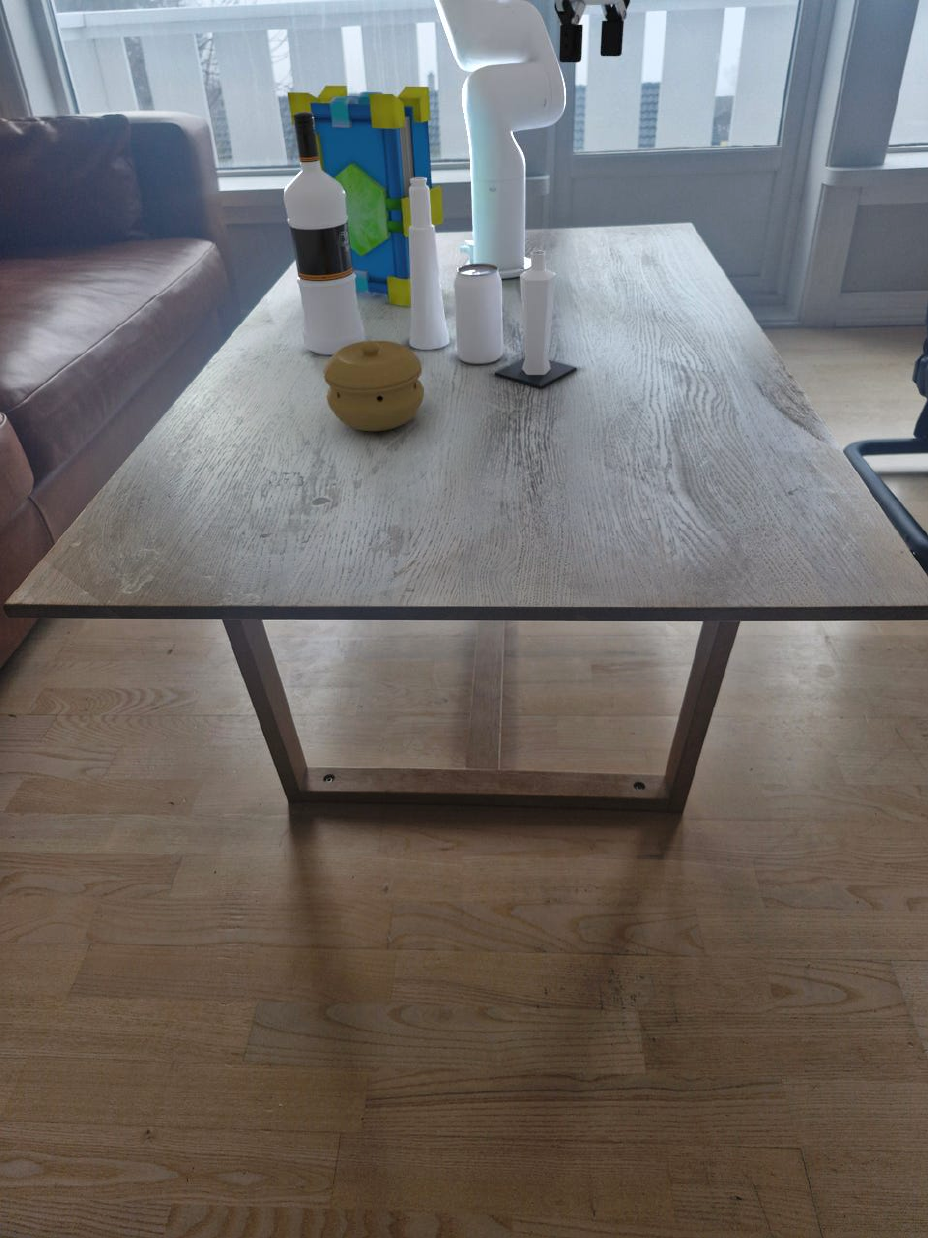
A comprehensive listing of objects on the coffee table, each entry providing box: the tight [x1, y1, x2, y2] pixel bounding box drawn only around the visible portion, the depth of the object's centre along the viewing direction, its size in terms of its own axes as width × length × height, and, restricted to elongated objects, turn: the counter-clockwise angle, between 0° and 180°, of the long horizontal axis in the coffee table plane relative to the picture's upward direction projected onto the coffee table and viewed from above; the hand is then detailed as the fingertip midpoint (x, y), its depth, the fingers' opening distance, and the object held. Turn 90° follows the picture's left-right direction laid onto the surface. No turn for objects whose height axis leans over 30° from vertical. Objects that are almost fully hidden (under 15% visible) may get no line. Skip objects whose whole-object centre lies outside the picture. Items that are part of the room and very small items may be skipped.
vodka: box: [283, 112, 367, 356], centre depth 111 cm, size 9×9×30 cm
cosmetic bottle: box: [408, 177, 450, 351], centre depth 112 cm, size 6×6×22 cm
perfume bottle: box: [519, 249, 557, 375], centre depth 104 cm, size 5×4×15 cm
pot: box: [323, 339, 425, 432], centre depth 95 cm, size 12×12×10 cm
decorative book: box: [286, 85, 444, 308], centre depth 132 cm, size 14×23×30 cm, turn 58°
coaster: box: [494, 357, 577, 390], centre depth 108 cm, size 8×8×1 cm
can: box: [453, 263, 503, 366], centre depth 110 cm, size 6×6×12 cm
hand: (590, 58), depth 109 cm, fingers open, 9 cm apart
